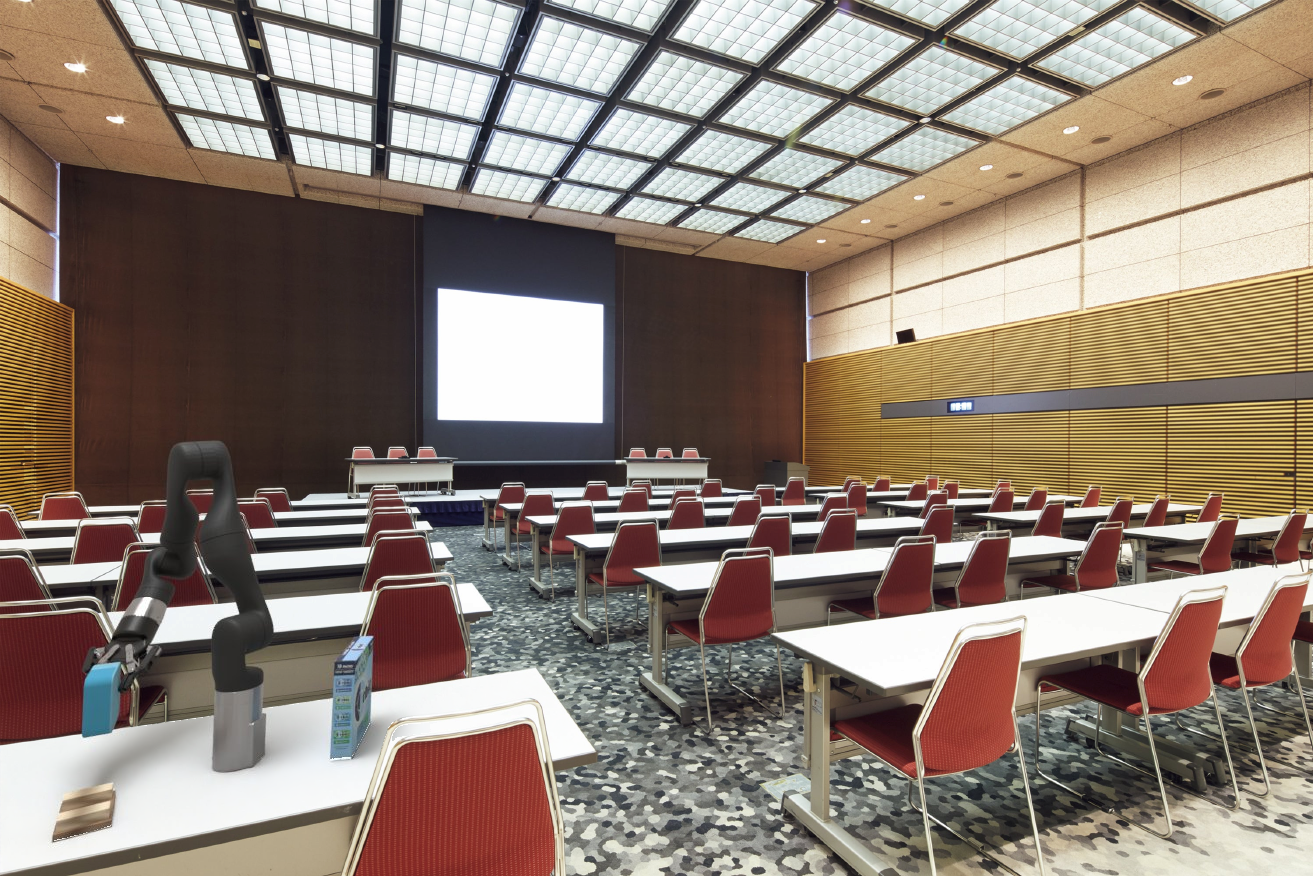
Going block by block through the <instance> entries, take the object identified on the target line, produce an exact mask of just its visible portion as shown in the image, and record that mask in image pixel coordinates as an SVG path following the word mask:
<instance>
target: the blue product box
mask: <svg viewBox="0 0 1313 876" xmlns="http://www.w3.org/2000/svg"><path fill="white" fill-rule="evenodd" d="M374 639H375V638H374V635H366V636H365V635H364V636H363V635H362V636H354V637H353V639H352V640H351V641H350V642H349V644H348V645H347V646H346V647H345V649H343V651H341V653H340V655H339V656H338V657H337V658H336V659H335V660H334V662H333V663H334V666H333V686H332V687H333V688H332V689H333V690H332V707H331V709H332V710H331V711H332V712H331V730H330V752H329V753H330V755H329V760H330V759H332V758H333V759H334V758H342V757H352V755H353V754H354V752H355V750H356V748H357V746H358V744H359V743H360V744H361V742H362V741H361V739H362V737H363V735H364V733H365V731H366V729H367V727H368V725H369V723H370V724H371V716H372V714H371V713H372V687H373V662H374V661H373V659H374V658H373V657H374ZM369 726H370V725H369ZM368 728H369V727H368ZM367 730H368V729H367ZM366 732H367V731H366ZM365 734H366V733H365ZM364 736H365V735H364ZM363 738H364V737H363ZM362 740H363V739H362ZM360 741H361V742H360ZM360 744H359V745H360ZM358 747H359V746H358ZM357 749H358V748H357ZM356 751H357V750H356ZM355 753H356V752H355ZM354 755H355V754H354Z"/></svg>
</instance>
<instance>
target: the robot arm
mask: <svg viewBox="0 0 1313 876" xmlns="http://www.w3.org/2000/svg"><path fill="white" fill-rule="evenodd" d="M166 473H167V474H166V475H167V476H166V477H167V478H166V499H165V500H166V505H165V506H166V507H165V515H164V520H163V523H162V527H161V532H160V535H159V544H160V545H161V546H159V547H158V546H157V547H155V548H152V550H150V551H149V553H147V555H146V557H145V560H144V567H143V576H142V580H141V582H140V585H139V588H138V589H137V592H136V594H135V595H134V597H133V599H132V601H131V602H130V604H128V607H127V608H126V609H125V611H124V612H123V615H122V616H121V619H120V620H119V623H118V624H117V626H116V628H115V629H114V632H113V633H112V636H111V639H110V642H108V644H106V645H105V646H103V647H98V648H97V647H96V646H91V647H90V648H89V649H88V652H87V654H86V657H85V660H84V662H83V665H82V667H81V672H82V673H84V675H85V676H86V677H87V676H88V674H89V672H90V671H91V669H92V668H93V666H94V665H100V664H107V663H115V662H121V665H125V666H127V673H124V675H123V678H122V679H121V683H120V685H119V687H118V691H119V692H120V695H123V694H126V693H127V692H128V691H129V690H131V687H132V686H133V684H134V682H135V680H136V678H137V677H138V676H140V675H148V674H149V673H150V672H151V670H152V668H153V666H155V664H156V662H157V661H158V659H159V657H160V656H161V655H162V654H163V650H162V648H161V647H160V646H159V645H158V644H153V645H151V644H152V643H153V641H154V638H155V636H156V634H157V633H158V630H159V629H160V627H161V625H162V622H163V620H164V618H165V614H166V612H167V608H168V607H169V604H170V603H171V601H172V599H173V597H174V595H175V592H176V586H175V585H174V584H173V583H172V582H170V581H168V580H166V579H164V578H168V579H173V580H185V579H186V580H187V579H188V578H190V577H191V576H192V575H193V574H194V573H195V572H196V570H197V566H198V556H197V550H196V543H195V542H196V538H197V540H198V546H199V550H200V553H201V554H200V555H201V558H202V561H203V564H204V566H205V568H206V569H207V570H208V571H209V573H210V574H212V576H213V577H214V578H215V579H216V580H218V581H219V582H220V584H222V585H223V587H225V588H226V589H227V590H228V591H229V593H230V594H231V596H232V598H233V599H234V602H235V604H236V608H237V611H238V614H234V615H231V616H226V617H223V618H221V619H219V620H218V621H217V622H216V623H215V625H214V627H213V630H212V632H211V639H210V644H211V645H210V647H211V648H210V649H211V650H210V651H211V675H212V678H213V681H214V701H213V702H214V703H213V704H214V705H213V727H212V728H213V729H212V731H213V733H212V752H211V753H212V754H211V755H212V756H211V768H212V769H213V771H216V772H221V773H222V772H223V773H224V772H225V773H226V772H235V771H238V770H239V771H240V770H242V769H246V768H253V767H254V766H255V765H256V764H257V763H258V762H259V761H260V760H261V759H262V758H263V757H264V755H265V754H266V734H267V733H266V731H267V728H266V727H267V713H266V712H264V713H263V704H264V702H263V701H264V700H263V699H264V697H263V696H264V677H265V675H264V670H263V668H261V667H258V666H254V665H253V666H251V665H247V664H246V663H247V662H246V655H248V654H252V653H254V652H257V651H261V650H263V649H266V648H268V647H269V645H270V644H271V643H272V642H273V639H274V636H275V634H274V633H275V630H274V629H275V628H274V622H273V619H272V616H271V613H270V609H269V607H268V605H267V601H266V599H265V596H264V594H263V591H262V588H261V586H260V582H259V580H258V575H257V572H256V569H255V565H254V562H253V559H252V553H251V549H250V548H251V547H250V544H249V540H248V537H247V532H246V529H245V525H244V523H243V518H242V515H241V510H240V507H239V503H238V499H237V498H238V497H237V493H236V487H235V486H236V485H235V479H234V473H233V467H232V460H231V456H230V452H229V450H228V447H227V446H226V444H225V443H224V442H222V441H221V440H202V441H201V440H200V441H199V440H198V441H197V440H196V441H183V442H179V443H175V444H173V446H172V447H171V449H170V452H169V455H168V462H167V471H166ZM205 480H211V484H212V495H213V496H212V500H211V504H210V505H209V509H208V510H207V513H206V514H205V517H204V519H203V522H202V523H201V526H200V528H199V525H200V513H199V510H198V509H197V507H196V505H195V504H194V502H193V501H192V499H191V498H190V496H189V495H188V492H187V486H188V483H189V482H194V481H205ZM198 529H199V531H198ZM197 533H198V534H197ZM161 577H163V578H161ZM104 654H105V655H104ZM144 655H145V656H144ZM141 657H144V658H143V660H142V661H141V663H140V658H141ZM82 690H83V691H84V686H82ZM261 757H262V758H261ZM252 766H253V767H252Z"/></svg>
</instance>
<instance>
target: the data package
mask: <svg viewBox="0 0 1313 876" xmlns="http://www.w3.org/2000/svg"><path fill="white" fill-rule="evenodd" d="M121 678H122V664H121V662H115V663H110V662H107V664H100V665H94V666H93V668H92V669H91V671H90V672H89V674H88V676H87V675H86V677H85V679H84V683H83V684H84V685H83V687H84V690H83V696H82V697H83V700H82V724H81V736H82V738H83V739H85V738H91V737H97V736H101V735H102V736H103V735H108V734H112V732H113V731H114V728H115V726H116V723H117V721H118V718H119V716H120V715H119V714H120V705H121V694H120V692H119V691H118V687H119V685H120V683H121V681H122V679H121Z"/></svg>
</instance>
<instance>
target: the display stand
mask: <svg viewBox="0 0 1313 876" xmlns="http://www.w3.org/2000/svg"><path fill="white" fill-rule="evenodd" d="M116 793H117V789H115V790H114V782H113V781H112V782H108V783H104V784H99V785H95V786H92V787H87V788H84V789H83V788H82V789H78V790H75V791H74V790H73V791H70V792H65V793H64V794H63V798H62V802H61V804H60V808H59V811H58V814H57V819H56V822H55V825H54V828H53V829H54V830H53V831H52V832H53V833H52V834H51V835H52V837H51V838H52V840H51V842H52V841H54V840H57V839H62V838H67V837H70V836H74V835H78V836H80V835H79V834H82V835H84V834H83V833H86V832H89V833H91V832H90V831H93V832H95V831H94V830H97V829H101V828H104V827H107V826H110V825H111V824H113V818H114V811H113V810H114V809H115V802H116ZM112 817H113V818H112ZM111 826H112V825H111ZM104 829H105V828H104ZM101 830H102V829H101ZM97 831H98V830H97ZM86 834H87V833H86ZM74 837H75V836H74ZM70 838H71V837H70ZM67 839H68V838H67Z"/></svg>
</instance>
